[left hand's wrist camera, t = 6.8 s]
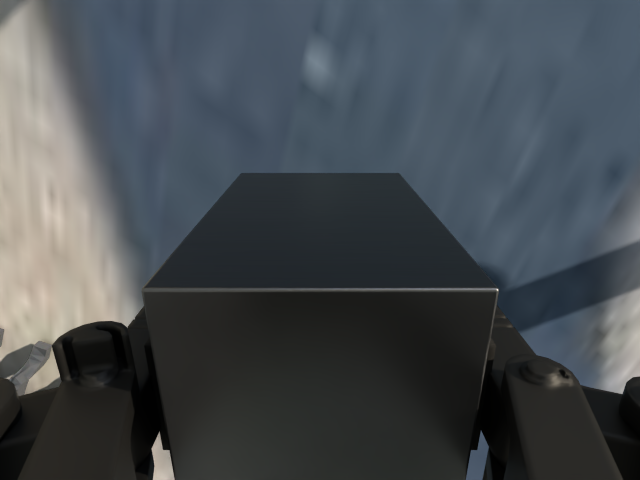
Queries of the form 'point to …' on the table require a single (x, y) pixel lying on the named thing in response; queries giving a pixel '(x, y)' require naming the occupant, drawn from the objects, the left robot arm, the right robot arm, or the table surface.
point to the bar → (320, 334)
